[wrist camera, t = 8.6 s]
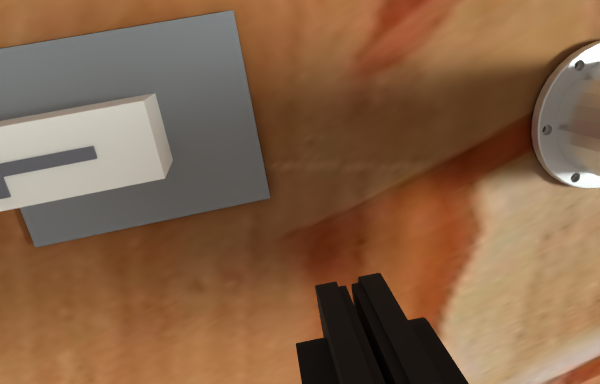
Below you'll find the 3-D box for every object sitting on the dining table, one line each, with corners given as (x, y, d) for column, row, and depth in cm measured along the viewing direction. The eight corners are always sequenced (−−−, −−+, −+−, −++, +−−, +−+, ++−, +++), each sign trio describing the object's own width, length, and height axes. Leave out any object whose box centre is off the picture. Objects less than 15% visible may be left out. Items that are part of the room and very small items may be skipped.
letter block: (143, 100, 27) (-68, 139, 26) (164, 179, 29) (-33, 218, 28) (155, 92, 32) (-22, 124, 31) (173, 160, 34) (5, 193, 33)
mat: (233, 10, 32) (233, 10, 31) (269, 195, 36) (270, 198, 36) (-36, 55, 30) (-41, 55, 30) (38, 244, 35) (35, 247, 34)
